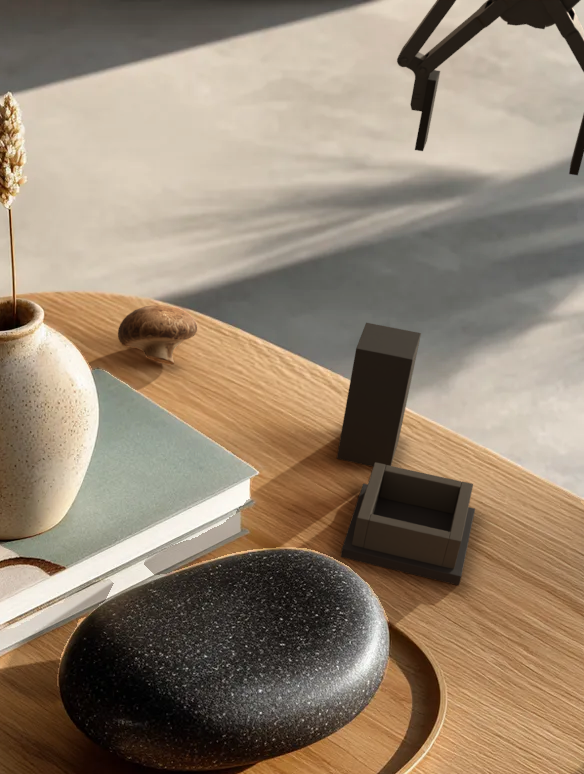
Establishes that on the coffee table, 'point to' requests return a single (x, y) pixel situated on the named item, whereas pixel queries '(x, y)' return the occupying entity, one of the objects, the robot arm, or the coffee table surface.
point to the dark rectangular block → (378, 394)
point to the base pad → (411, 523)
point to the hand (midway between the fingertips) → (496, 157)
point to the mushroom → (157, 331)
